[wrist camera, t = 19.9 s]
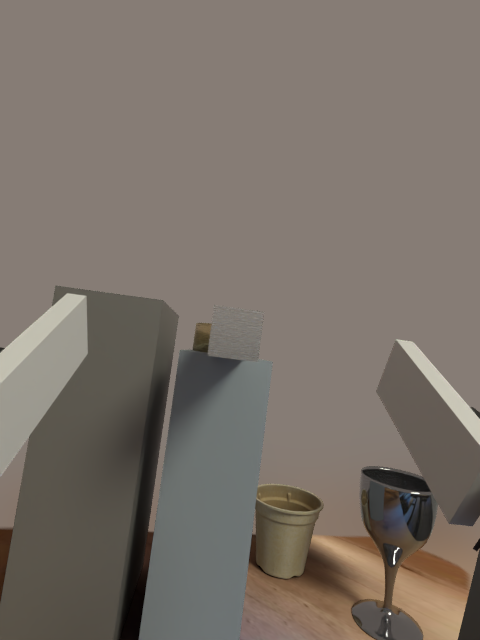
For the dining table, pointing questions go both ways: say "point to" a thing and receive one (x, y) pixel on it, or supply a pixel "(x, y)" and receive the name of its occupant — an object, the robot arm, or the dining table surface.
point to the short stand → (206, 499)
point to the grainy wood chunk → (230, 334)
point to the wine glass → (393, 542)
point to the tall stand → (91, 479)
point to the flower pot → (284, 528)
